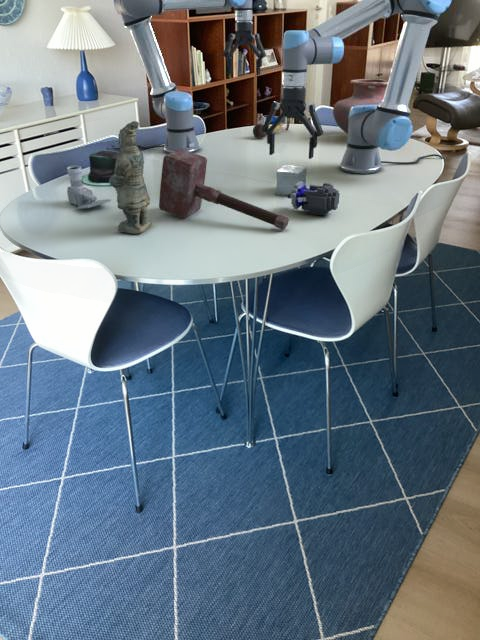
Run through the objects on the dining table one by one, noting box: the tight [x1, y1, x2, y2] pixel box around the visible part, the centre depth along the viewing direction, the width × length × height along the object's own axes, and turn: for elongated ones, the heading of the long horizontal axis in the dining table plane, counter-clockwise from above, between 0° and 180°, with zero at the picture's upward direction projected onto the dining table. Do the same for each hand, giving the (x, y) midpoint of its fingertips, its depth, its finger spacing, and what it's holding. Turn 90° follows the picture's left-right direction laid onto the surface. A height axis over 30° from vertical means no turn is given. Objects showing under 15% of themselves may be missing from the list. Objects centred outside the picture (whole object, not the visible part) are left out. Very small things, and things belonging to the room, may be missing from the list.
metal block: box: [276, 164, 307, 197], centre depth 187 cm, size 8×8×8 cm
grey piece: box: [66, 165, 112, 210], centre depth 178 cm, size 9×12×15 cm
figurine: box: [252, 119, 290, 139], centre depth 265 cm, size 13×8×25 cm
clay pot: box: [332, 78, 388, 135], centre depth 248 cm, size 30×30×25 cm
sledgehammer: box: [158, 149, 290, 231], centre depth 163 cm, size 17×10×40 cm
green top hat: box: [82, 150, 119, 186], centre depth 207 cm, size 15×19×20 cm
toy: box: [287, 181, 341, 216], centre depth 168 cm, size 9×9×15 cm
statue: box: [109, 120, 153, 235], centre depth 154 cm, size 11×9×30 cm
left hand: (244, 74), depth 253 cm, fingers open, 13 cm apart
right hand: (291, 156), depth 183 cm, fingers open, 13 cm apart
